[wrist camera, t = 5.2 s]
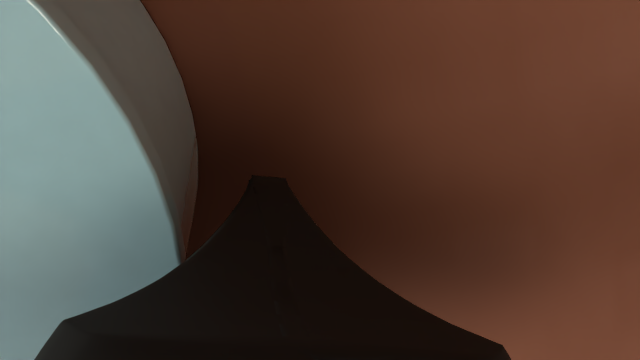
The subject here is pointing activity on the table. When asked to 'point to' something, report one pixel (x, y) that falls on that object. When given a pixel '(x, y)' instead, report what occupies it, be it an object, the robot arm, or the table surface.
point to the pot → (87, 162)
